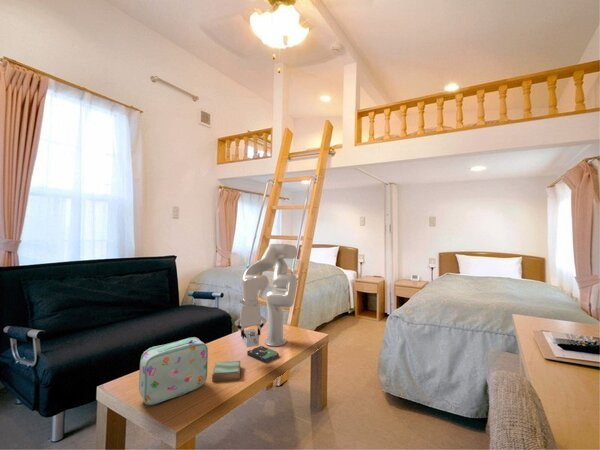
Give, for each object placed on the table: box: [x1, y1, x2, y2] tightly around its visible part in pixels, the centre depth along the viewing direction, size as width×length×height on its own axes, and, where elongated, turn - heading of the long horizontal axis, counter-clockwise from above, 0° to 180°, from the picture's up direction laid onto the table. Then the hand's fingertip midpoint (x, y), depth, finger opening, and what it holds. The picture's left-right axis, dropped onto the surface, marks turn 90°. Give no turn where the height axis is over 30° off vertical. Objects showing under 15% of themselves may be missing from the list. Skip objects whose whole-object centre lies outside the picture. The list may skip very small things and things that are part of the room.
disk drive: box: [246, 345, 280, 364], centre depth 155 cm, size 10×3×15 cm
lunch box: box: [138, 336, 209, 406], centre depth 121 cm, size 27×10×21 cm, turn 133°
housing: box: [241, 328, 260, 348], centre depth 145 cm, size 11×6×6 cm, turn 24°
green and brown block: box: [211, 360, 241, 382], centre depth 136 cm, size 12×12×3 cm
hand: (250, 337), depth 145 cm, fingers closed on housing, 7 cm apart
